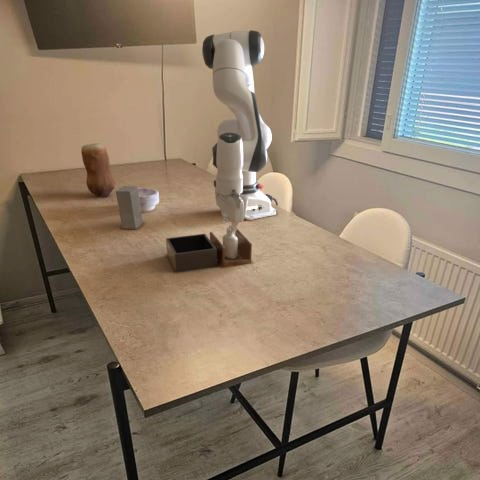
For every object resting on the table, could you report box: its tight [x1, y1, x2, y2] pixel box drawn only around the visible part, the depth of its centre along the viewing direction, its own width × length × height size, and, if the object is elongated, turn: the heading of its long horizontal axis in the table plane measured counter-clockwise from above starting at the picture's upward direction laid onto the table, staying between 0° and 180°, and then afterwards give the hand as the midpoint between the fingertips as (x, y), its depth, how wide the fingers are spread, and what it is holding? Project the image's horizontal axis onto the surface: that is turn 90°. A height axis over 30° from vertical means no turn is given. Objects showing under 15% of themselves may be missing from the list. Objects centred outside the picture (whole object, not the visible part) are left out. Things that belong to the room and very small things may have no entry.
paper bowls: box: [138, 187, 160, 213], centre depth 196 cm, size 15×15×8 cm
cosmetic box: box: [115, 185, 144, 230], centre depth 176 cm, size 8×7×16 cm
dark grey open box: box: [165, 233, 218, 273], centre depth 151 cm, size 15×15×7 cm
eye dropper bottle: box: [222, 224, 239, 260], centre depth 153 cm, size 4×6×12 cm
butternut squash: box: [80, 142, 116, 198], centre depth 207 cm, size 14×13×25 cm
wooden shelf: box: [209, 228, 253, 268], centre depth 154 cm, size 11×15×7 cm
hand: (229, 226), depth 150 cm, fingers open, 8 cm apart
